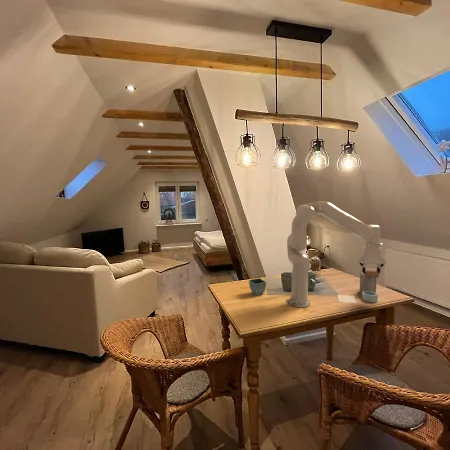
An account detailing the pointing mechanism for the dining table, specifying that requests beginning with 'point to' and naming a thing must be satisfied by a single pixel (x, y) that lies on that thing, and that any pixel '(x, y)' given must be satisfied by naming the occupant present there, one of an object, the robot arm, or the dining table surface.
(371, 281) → the pillar candle
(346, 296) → the mat
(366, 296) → the bowl
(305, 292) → the robot arm
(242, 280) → the dining table surface
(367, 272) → the board
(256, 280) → the flower pot
